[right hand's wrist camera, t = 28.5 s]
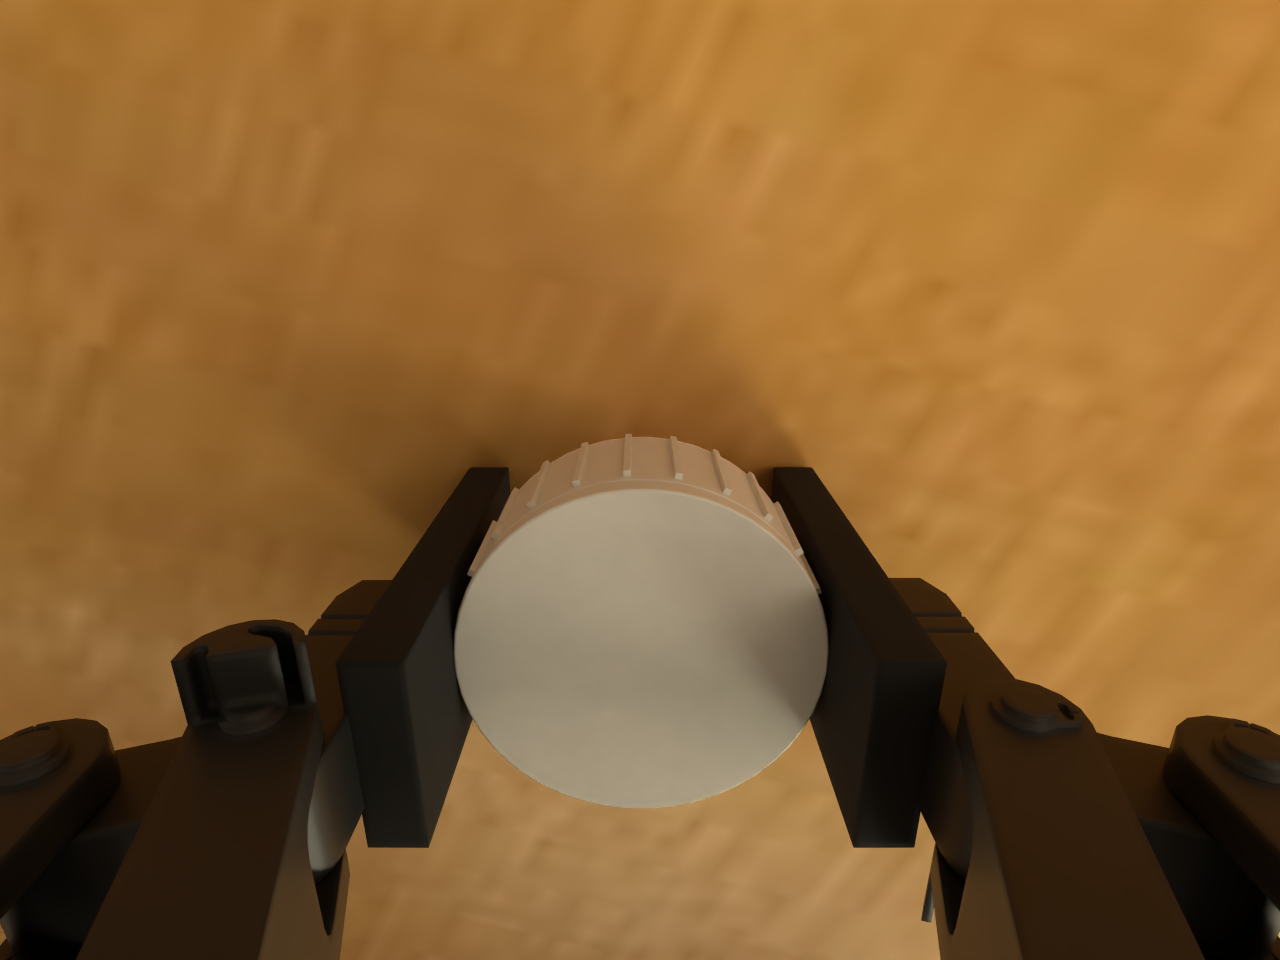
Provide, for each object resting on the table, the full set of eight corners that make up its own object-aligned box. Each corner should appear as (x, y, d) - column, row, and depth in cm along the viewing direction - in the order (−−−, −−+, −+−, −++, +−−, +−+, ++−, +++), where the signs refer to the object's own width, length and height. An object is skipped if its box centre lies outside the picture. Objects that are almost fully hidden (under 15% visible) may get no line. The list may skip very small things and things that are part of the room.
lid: (860, 593, 12) (910, 677, 10) (628, 759, 13) (626, 866, 11) (655, 361, 11) (659, 399, 9) (418, 570, 12) (367, 650, 10)
